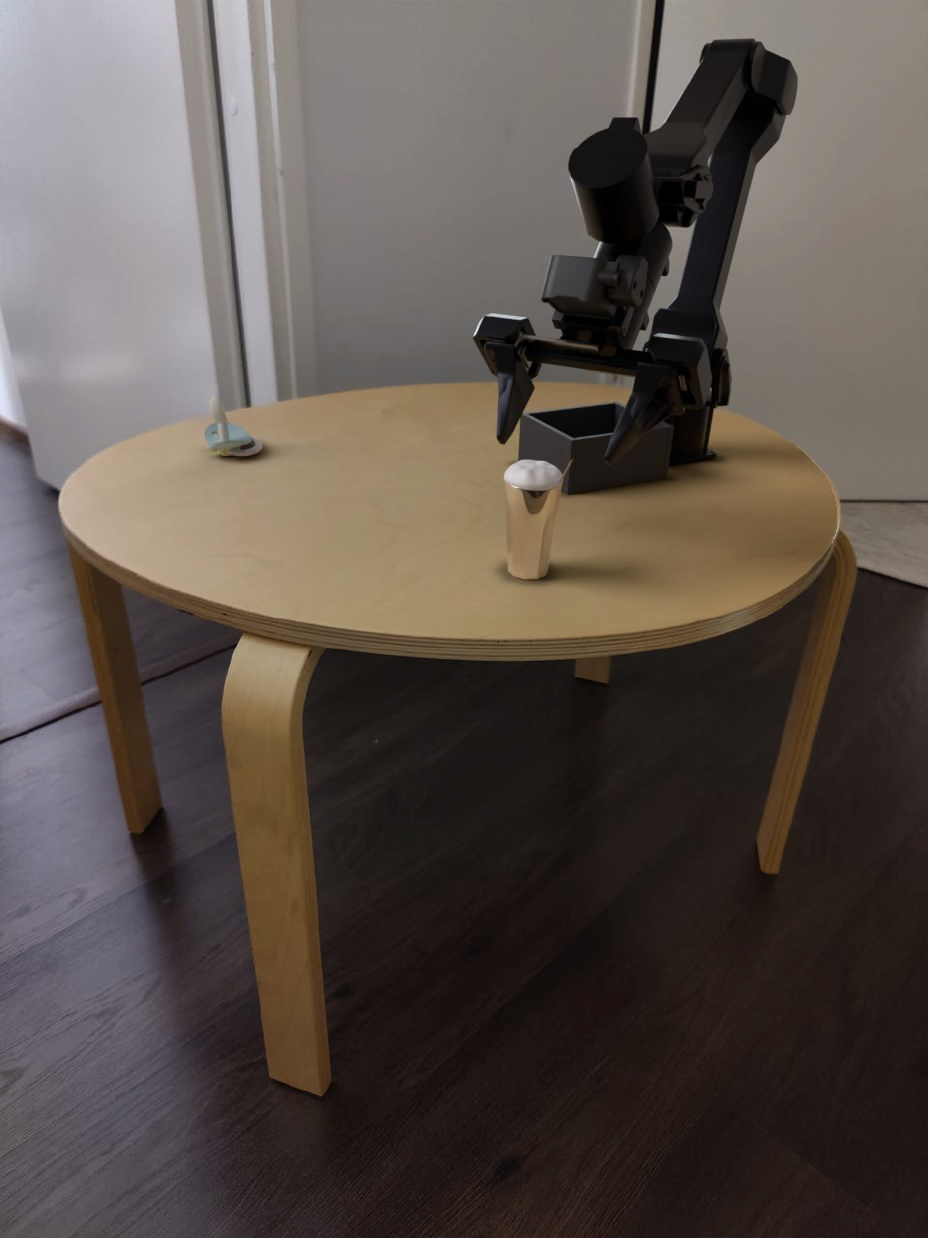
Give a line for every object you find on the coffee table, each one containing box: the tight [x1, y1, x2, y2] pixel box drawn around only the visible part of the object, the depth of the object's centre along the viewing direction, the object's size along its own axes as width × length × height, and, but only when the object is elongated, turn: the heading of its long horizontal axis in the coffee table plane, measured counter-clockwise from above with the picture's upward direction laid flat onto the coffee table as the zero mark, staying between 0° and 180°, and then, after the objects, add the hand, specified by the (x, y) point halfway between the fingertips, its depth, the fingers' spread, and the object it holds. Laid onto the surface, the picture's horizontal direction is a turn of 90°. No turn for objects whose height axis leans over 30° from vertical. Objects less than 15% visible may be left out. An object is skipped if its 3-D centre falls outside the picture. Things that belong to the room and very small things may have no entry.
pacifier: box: [203, 394, 263, 457], centre depth 94 cm, size 7×6×6 cm
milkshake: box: [503, 459, 573, 580], centre depth 67 cm, size 4×5×10 cm
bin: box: [517, 401, 674, 495], centre depth 90 cm, size 12×10×6 cm
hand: (552, 451), depth 67 cm, fingers open, 9 cm apart
